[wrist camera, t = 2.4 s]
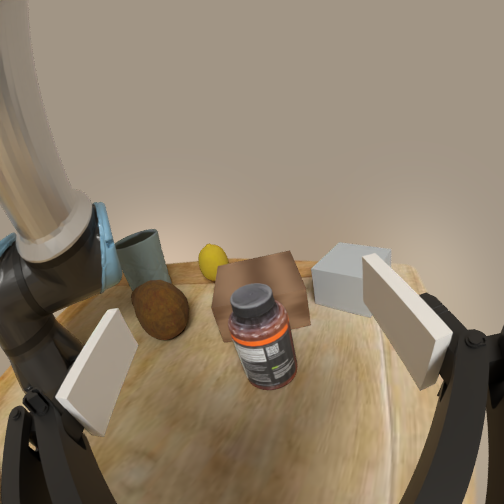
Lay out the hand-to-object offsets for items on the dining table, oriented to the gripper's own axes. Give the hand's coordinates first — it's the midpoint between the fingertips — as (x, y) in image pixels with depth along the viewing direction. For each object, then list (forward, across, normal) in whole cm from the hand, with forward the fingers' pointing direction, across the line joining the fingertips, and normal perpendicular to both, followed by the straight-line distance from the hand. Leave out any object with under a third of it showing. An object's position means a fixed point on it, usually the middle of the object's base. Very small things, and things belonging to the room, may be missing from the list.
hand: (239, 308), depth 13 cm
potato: (+23, -16, -17) cm, 33 cm away
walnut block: (+23, 0, -16) cm, 29 cm away
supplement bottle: (+10, 0, -17) cm, 20 cm away
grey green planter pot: (+37, -23, -16) cm, 47 cm away
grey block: (+22, +14, -17) cm, 31 cm away
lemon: (+35, -8, -16) cm, 40 cm away
